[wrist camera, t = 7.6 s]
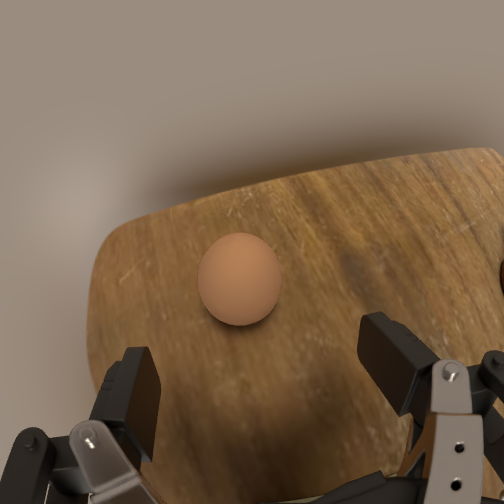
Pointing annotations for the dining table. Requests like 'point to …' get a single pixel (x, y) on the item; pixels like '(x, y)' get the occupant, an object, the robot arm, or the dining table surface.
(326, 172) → the dining table surface
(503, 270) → the mug
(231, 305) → the egg
